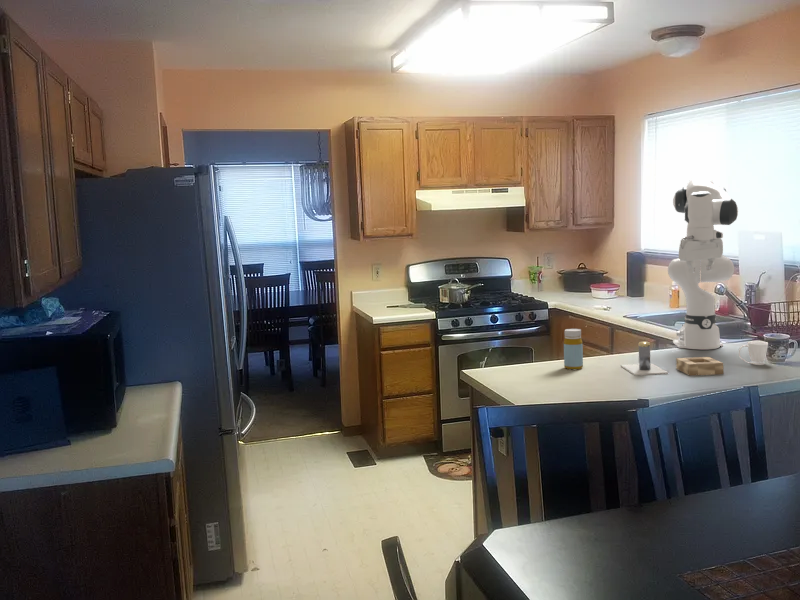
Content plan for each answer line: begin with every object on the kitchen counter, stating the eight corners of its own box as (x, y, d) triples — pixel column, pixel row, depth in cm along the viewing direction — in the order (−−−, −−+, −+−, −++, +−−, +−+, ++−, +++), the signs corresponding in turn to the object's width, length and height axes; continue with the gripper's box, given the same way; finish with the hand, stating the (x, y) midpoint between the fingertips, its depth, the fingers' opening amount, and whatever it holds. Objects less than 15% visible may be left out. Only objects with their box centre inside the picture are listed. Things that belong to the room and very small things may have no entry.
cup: (770, 365, 248) (770, 344, 248) (740, 365, 251) (740, 344, 250) (765, 361, 255) (766, 340, 254) (736, 361, 258) (736, 340, 257)
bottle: (581, 366, 264) (580, 328, 262) (584, 369, 257) (583, 331, 255) (563, 366, 264) (562, 328, 263) (565, 370, 258) (564, 331, 256)
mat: (621, 366, 259) (621, 365, 259) (652, 365, 259) (652, 363, 259) (634, 375, 243) (634, 373, 243) (668, 374, 243) (668, 372, 243)
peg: (639, 367, 252) (638, 341, 250) (650, 367, 251) (650, 341, 249) (638, 370, 249) (638, 344, 247) (650, 370, 247) (649, 344, 245)
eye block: (676, 368, 251) (676, 358, 250) (708, 367, 251) (708, 356, 250) (689, 375, 239) (689, 364, 238) (723, 374, 239) (723, 363, 238)
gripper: (688, 236, 247) (688, 274, 249) (726, 233, 256) (726, 269, 258) (674, 236, 253) (674, 273, 254) (711, 233, 261) (711, 268, 263)
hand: (700, 271), depth 256 cm, fingers open, 8 cm apart
